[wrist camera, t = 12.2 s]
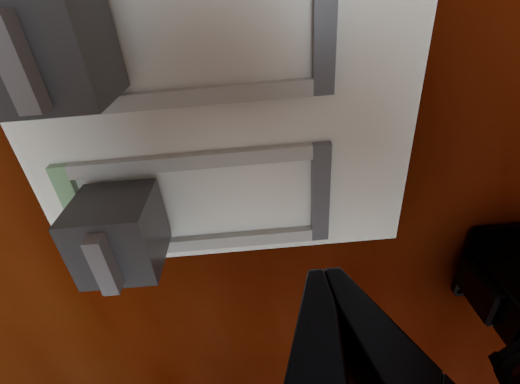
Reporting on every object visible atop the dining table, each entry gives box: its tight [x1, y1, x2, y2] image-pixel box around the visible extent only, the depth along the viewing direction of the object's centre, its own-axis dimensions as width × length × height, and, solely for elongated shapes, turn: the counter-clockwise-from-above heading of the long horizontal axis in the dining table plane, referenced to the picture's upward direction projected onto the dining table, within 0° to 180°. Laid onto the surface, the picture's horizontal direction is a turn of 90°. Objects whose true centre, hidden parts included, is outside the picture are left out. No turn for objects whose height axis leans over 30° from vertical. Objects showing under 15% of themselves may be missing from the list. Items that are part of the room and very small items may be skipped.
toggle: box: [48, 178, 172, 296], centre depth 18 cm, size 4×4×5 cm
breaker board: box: [0, 0, 438, 257], centre depth 16 cm, size 21×26×2 cm
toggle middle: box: [0, 0, 130, 123], centre depth 13 cm, size 4×4×5 cm
